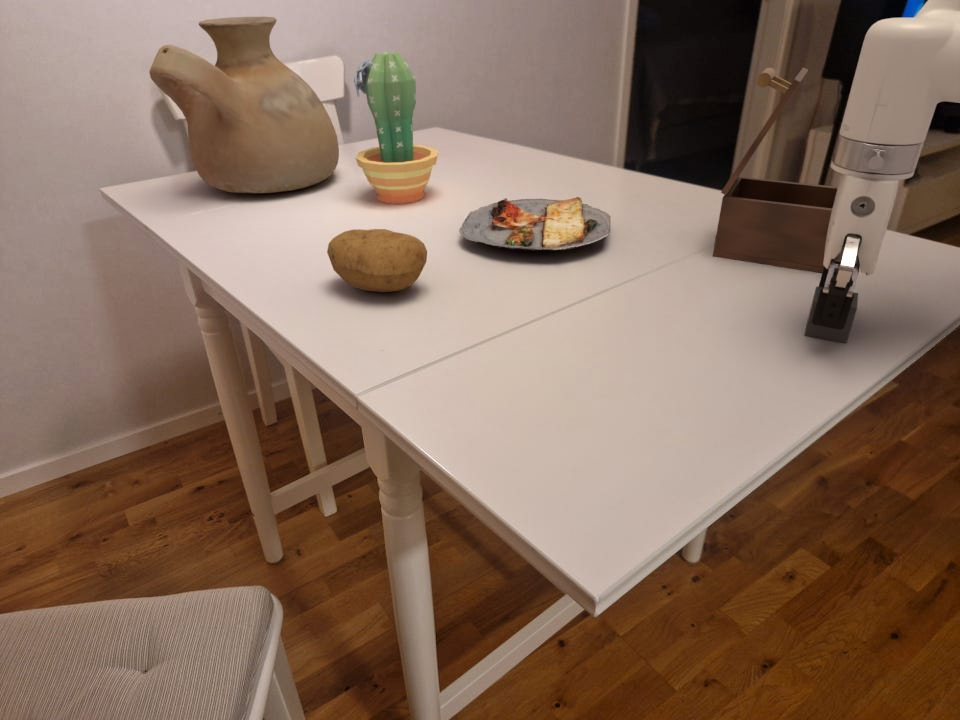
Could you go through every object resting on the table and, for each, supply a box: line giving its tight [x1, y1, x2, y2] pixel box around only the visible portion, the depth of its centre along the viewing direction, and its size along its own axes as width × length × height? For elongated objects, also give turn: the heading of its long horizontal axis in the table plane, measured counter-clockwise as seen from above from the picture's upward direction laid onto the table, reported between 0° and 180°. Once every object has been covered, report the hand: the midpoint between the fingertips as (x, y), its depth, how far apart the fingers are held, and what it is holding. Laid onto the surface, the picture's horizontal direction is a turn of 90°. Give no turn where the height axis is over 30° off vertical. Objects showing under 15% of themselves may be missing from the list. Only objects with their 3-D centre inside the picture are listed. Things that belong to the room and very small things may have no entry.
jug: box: [148, 16, 340, 194], centre depth 126 cm, size 29×34×30 cm
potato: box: [326, 228, 428, 293], centre depth 87 cm, size 10×14×8 cm
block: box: [804, 286, 859, 344], centre depth 75 cm, size 4×4×4 cm
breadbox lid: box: [720, 67, 809, 196], centre depth 92 cm, size 16×12×5 cm
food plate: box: [458, 196, 612, 252], centre depth 105 cm, size 25×23×4 cm
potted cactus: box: [353, 51, 439, 205], centre depth 119 cm, size 15×15×25 cm
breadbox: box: [712, 176, 838, 274], centre depth 96 cm, size 16×12×9 cm
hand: (829, 308), depth 75 cm, fingers open, 9 cm apart
